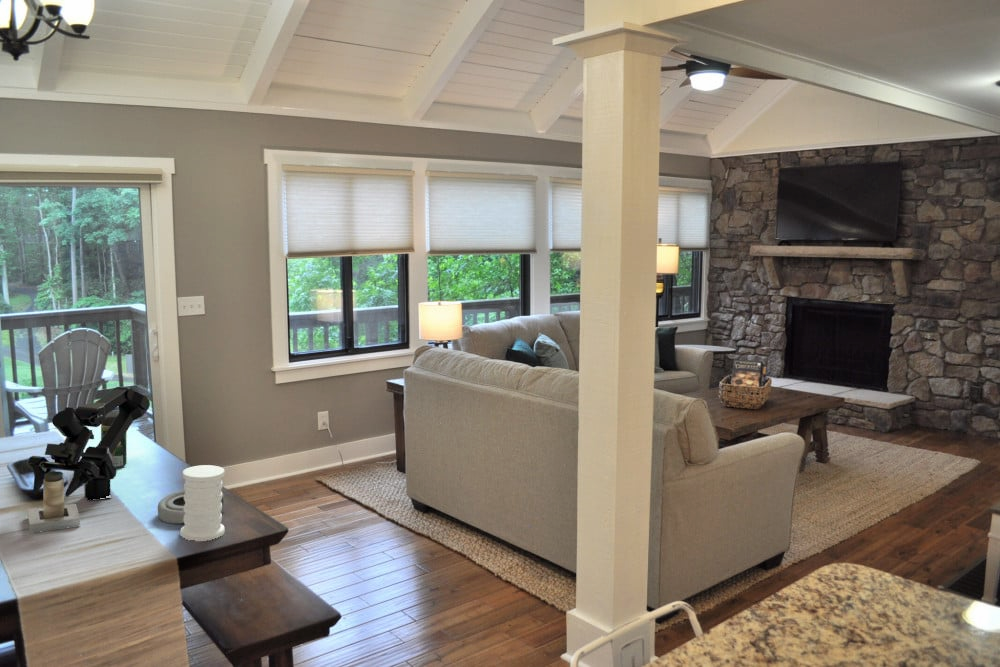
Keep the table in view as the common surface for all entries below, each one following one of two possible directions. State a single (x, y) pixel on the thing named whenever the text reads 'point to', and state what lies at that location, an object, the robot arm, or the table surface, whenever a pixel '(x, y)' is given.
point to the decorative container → (203, 503)
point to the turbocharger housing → (176, 507)
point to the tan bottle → (53, 495)
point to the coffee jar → (120, 451)
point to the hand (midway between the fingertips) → (50, 494)
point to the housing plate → (53, 519)
